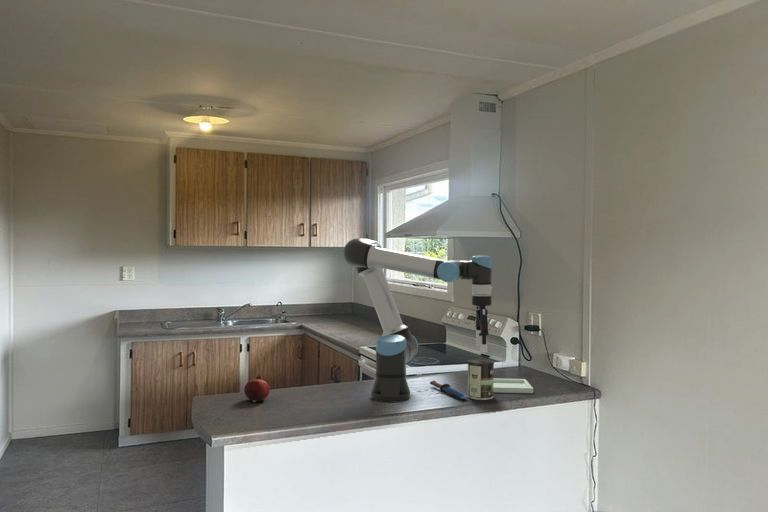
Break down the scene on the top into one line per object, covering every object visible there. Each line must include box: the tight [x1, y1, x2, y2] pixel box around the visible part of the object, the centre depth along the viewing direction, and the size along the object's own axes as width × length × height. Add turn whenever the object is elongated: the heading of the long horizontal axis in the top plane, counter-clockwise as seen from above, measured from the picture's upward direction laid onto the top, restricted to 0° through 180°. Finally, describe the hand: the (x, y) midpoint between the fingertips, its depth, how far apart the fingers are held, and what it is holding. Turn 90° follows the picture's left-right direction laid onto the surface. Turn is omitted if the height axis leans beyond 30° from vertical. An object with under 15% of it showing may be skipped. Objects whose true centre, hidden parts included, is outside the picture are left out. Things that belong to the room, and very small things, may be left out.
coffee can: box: [466, 358, 495, 401], centre depth 226 cm, size 10×10×14 cm
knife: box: [429, 380, 468, 400], centre depth 230 cm, size 24×3×5 cm
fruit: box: [243, 373, 270, 403], centre depth 217 cm, size 9×10×10 cm
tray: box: [493, 377, 534, 394], centre depth 240 cm, size 16×16×2 cm
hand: (481, 349), depth 225 cm, fingers open, 13 cm apart
